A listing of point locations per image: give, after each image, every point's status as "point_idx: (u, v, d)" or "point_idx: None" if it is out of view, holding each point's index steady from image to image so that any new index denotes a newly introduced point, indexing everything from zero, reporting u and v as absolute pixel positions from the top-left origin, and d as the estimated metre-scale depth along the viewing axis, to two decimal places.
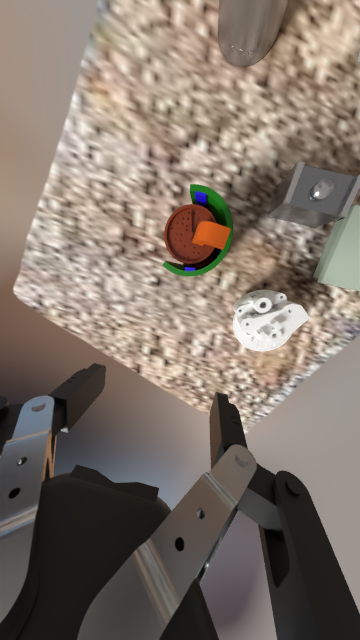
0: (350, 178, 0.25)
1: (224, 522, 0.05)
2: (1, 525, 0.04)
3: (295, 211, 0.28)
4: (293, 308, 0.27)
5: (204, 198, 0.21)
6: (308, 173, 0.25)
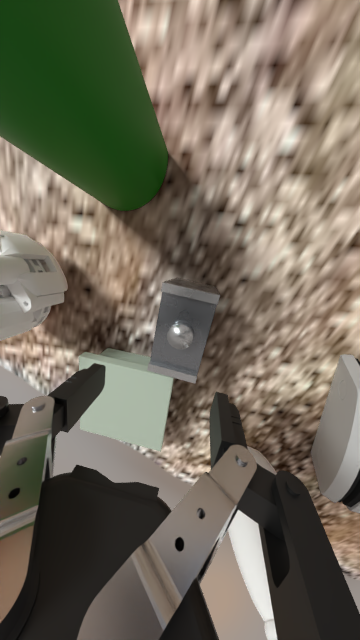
0: (196, 367, 0.18)
1: (224, 522, 0.05)
2: (1, 525, 0.04)
3: None
4: None
5: None
6: (204, 313, 0.16)
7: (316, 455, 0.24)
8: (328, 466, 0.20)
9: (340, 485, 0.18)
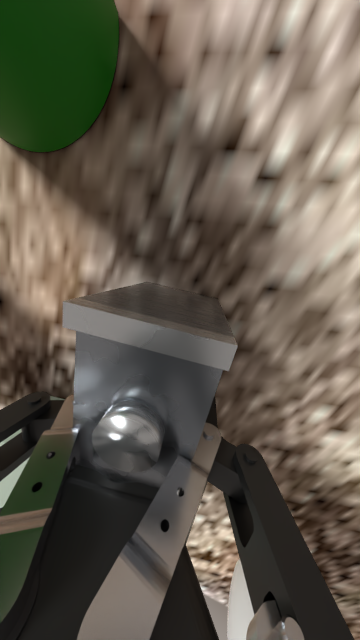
0: None
1: (201, 492, 0.06)
2: (18, 518, 0.04)
3: None
4: None
5: None
6: (192, 384, 0.06)
7: None
8: None
9: None
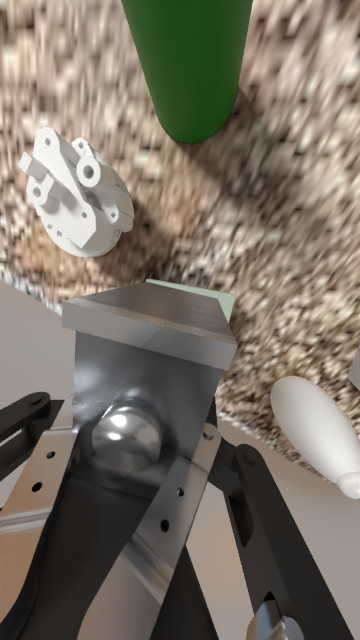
0: None
1: (201, 492, 0.06)
2: (18, 518, 0.04)
3: None
4: (89, 219, 0.18)
5: None
6: (192, 384, 0.06)
7: (355, 374, 0.26)
8: None
9: None
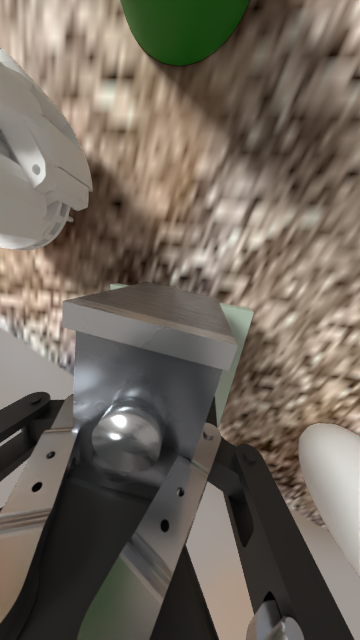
0: None
1: (201, 492, 0.06)
2: (18, 518, 0.04)
3: None
4: None
5: None
6: (192, 384, 0.06)
7: None
8: None
9: None
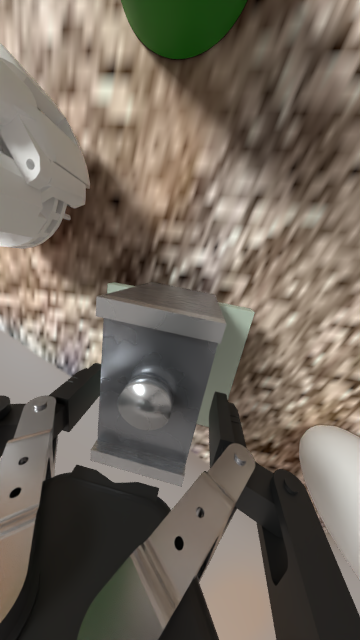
0: (182, 453, 0.09)
1: (223, 521, 0.05)
2: (2, 525, 0.04)
3: None
4: None
5: None
6: (194, 358, 0.08)
7: None
8: None
9: None
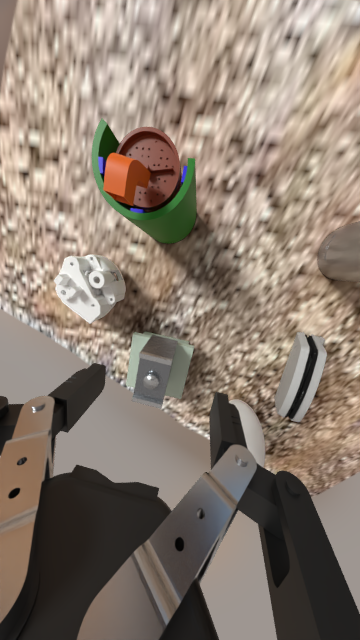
0: (161, 398, 0.29)
1: (224, 522, 0.05)
2: (1, 525, 0.04)
3: None
4: (96, 307, 0.28)
5: None
6: (165, 368, 0.27)
7: (277, 396, 0.38)
8: (283, 396, 0.34)
9: (287, 402, 0.32)
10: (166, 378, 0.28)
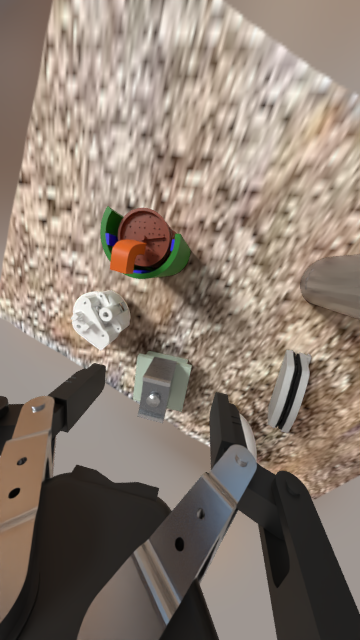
0: (163, 414, 0.33)
1: (224, 522, 0.05)
2: (1, 525, 0.04)
3: None
4: (105, 337, 0.33)
5: None
6: (164, 389, 0.32)
7: (269, 408, 0.41)
8: (272, 408, 0.37)
9: (276, 415, 0.35)
10: (166, 397, 0.32)
